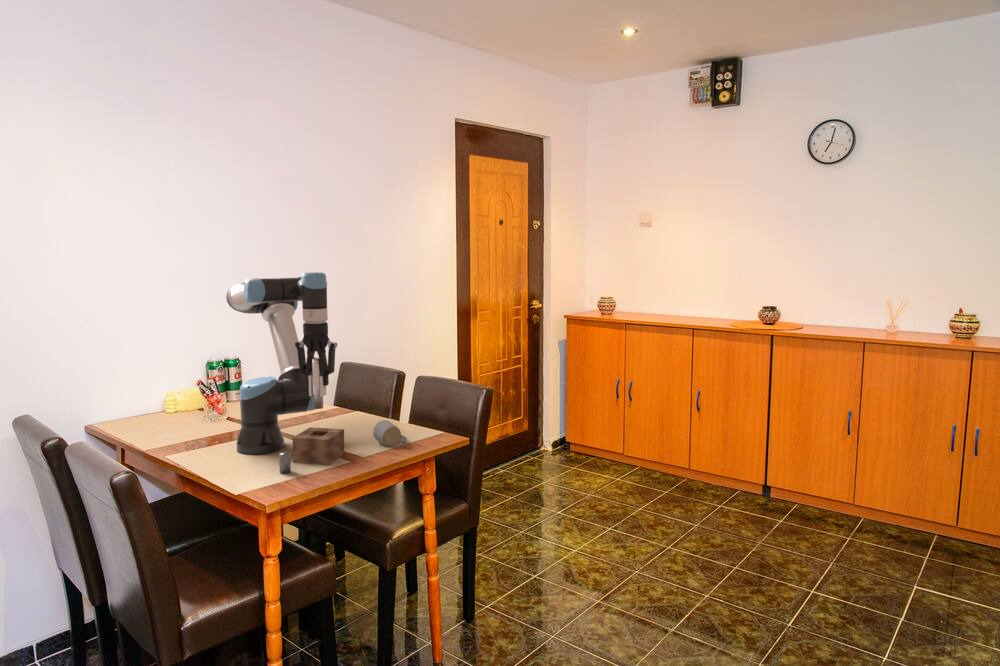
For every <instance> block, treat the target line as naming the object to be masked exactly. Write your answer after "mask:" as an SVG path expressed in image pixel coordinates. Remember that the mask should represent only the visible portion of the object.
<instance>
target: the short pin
mask: <svg viewBox="0 0 1000 666" xmlns="http://www.w3.org/2000/svg"><path fill="white" fill-rule="evenodd" d="M278 460H279V461H278V463H279V464H278V465H279V474H281V475H288V474H290V473H292V467H291V465H292V464H291V452H290V451H287V450H286V451H285V450H284V451H281V452H279V453H278Z"/></svg>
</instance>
